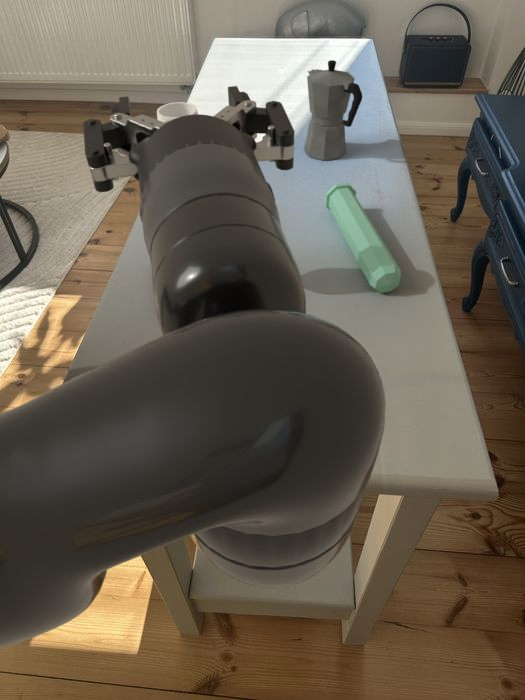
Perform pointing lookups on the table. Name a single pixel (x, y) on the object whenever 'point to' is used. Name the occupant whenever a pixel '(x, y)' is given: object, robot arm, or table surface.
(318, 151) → the coffeepot
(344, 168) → the table surface
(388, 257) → the container
